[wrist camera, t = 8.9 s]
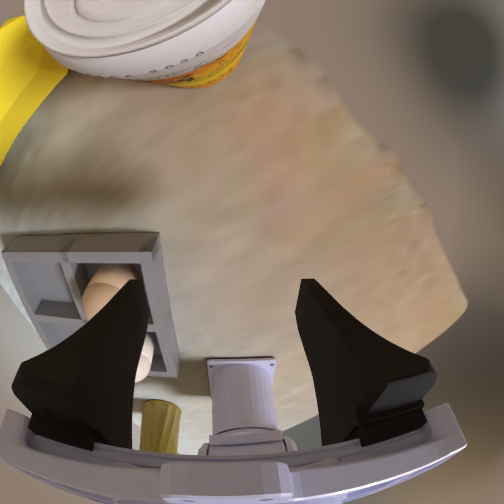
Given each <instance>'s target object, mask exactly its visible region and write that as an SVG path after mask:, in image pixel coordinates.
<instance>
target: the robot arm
mask: <svg viewBox="0 0 504 504" xmlns="http://www.w3.org/2000/svg"><path fill="white" fill-rule="evenodd" d="M149 314H150V312H149V308H148V304H147V300H146V295H145V291H144V286H143V281H142V279H130V280H129V281H128V282H127V283H126V284H125V285H124V286H123V287H122V288H121V289H120V290H119V291H118V292H117V293H116V294H115V295H114V296H113V297H112V298H111V300H110V301H109V302H108V303H107V304H106V305H105V306H104V307H103V308H102V309H101V310H100V311H99V312H98V313H97V314H95V315H94V316H93V317H92V318H91V319H90V320H89V321H88V322H87V323H86V324H85V325H83V326H82V327H81V328H80V329H78V330H77V331H76V332H75V333H73V334H72V335H70V336H69V337H68V338H66V339H65V340H63V341H62V342H60V343H59V344H57V345H56V346H54V347H52V348H51V349H49V350H47V351H45V352H44V353H42V354H40V355H38V356H36V357H33V358H31V359H29V360H27V361H24V362H22V363H21V365H20V367H19V369H18V372H17V374H16V376H15V379H14V381H13V383H12V390H13V392H14V394H15V395H16V397H17V398H18V399H19V400H20V401H21V402H22V403H23V404H24V405H25V406H26V408H27V409H28V410H29V411H30V412H31V413H32V416H31V419H30V418H28V417H27V416H25V415H23V414H20V413H18V412H15V411H13V410H10V409H7V410H6V413H5V416H4V419H3V422H2V425H1V428H0V459H2V460H4V461H5V462H6V463H8V464H10V465H11V466H13V467H14V468H16V469H18V470H19V471H21V472H23V473H25V474H26V475H28V476H31V477H33V478H35V479H37V480H39V481H42V482H44V483H46V484H49V485H51V486H54V487H56V488H59V489H61V490H64V491H66V492H69V493H72V494H75V495H78V496H80V497H84V498H87V499H90V500H93V501H97V502H100V503H104V504H342V503H344V502H348V501H351V500H355V499H358V498H361V497H364V496H367V495H370V494H373V493H375V492H378V491H381V490H384V489H386V488H389V487H392V486H394V485H396V484H399V483H401V482H404V481H406V480H408V479H411V478H413V477H415V476H417V475H419V474H421V473H424V472H426V471H428V470H430V469H432V468H433V467H436V466H438V465H439V464H441V463H442V462H444V461H446V460H447V459H449V458H450V457H452V456H453V455H455V454H456V453H458V452H459V451H460V450H462V449H463V448H465V447H466V446H467V443H466V440H465V438H464V436H463V433H462V431H461V429H460V427H459V425H458V423H457V420H456V418H455V416H454V414H453V412H452V410H451V408H450V406H449V404H448V403H445V404H443V405H440V406H438V407H435V408H433V409H431V410H429V411H427V412H425V413H424V412H423V410H422V408H423V407H424V402H423V400H422V398H423V397H424V396H425V395H426V394H427V393H428V391H429V390H430V389H431V388H432V387H433V385H434V384H435V382H436V379H437V374H436V372H435V370H434V368H433V367H432V365H431V363H430V361H429V360H428V359H427V358H425V357H422V356H419V355H417V354H414V353H412V352H409V351H407V350H405V349H403V348H401V347H399V346H397V345H395V344H393V343H391V342H389V341H388V340H386V339H384V338H383V337H381V336H379V335H378V334H376V333H375V332H373V331H372V330H370V329H369V328H368V327H366V326H365V325H364V324H362V323H361V322H360V321H358V320H357V319H356V318H355V317H354V316H352V315H351V314H350V313H349V312H348V311H347V310H346V309H344V308H343V307H342V306H341V305H340V304H339V303H338V302H337V301H336V300H335V299H334V298H333V297H332V296H331V295H330V294H329V293H328V292H327V291H326V290H325V289H324V288H323V287H322V286H321V285H320V284H319V283H318V282H317V281H316V280H315V279H301V284H300V289H299V295H298V300H297V305H296V310H295V314H296V320H297V326H298V331H299V334H300V337H301V341H302V344H303V347H304V350H305V353H306V356H307V359H308V362H309V366H310V369H311V373H312V376H313V381H314V387H315V392H316V398H317V405H318V411H319V418H320V428H321V439H322V446H321V447H315V448H309V449H303V450H297V447H296V444H295V442H294V441H293V440H291V439H290V438H289V437H284V438H283V436H282V430H279V427H278V421H277V415H276V408H275V402H274V396H273V389H272V382H273V378H274V373H275V368H276V362H277V361H276V358H253V359H209V360H208V361H207V368H208V377H209V385H210V392H211V399H212V427H213V435H210V436H209V443H204V444H203V445H202V447H201V448H200V449H199V451H198V455H181V454H167V453H157V452H148V451H140V450H133V449H132V409H133V395H134V386H135V378H136V372H137V368H138V364H139V360H140V356H141V352H142V349H143V345H144V341H145V337H146V334H147V328H148V321H149Z"/></svg>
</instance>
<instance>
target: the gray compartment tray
mask: <svg viewBox="0 0 504 504" xmlns="http://www.w3.org/2000/svg"><path fill="white" fill-rule="evenodd" d="M1 253H2V256H3V259H4V261H5V264H6V267H7V269H8V272H9V274H10V276H11V279H12V281H13V284H14V286H15V288H16V290H17V293H18V295H19V297H20V299H21V301H22V303H23V305H24V307H25V309H26V311H27V313H28V315H29V317H30V319H31V321H32V323H33V325H34V327H35V328H36V330H37V332H38V334H39V336H40V337H41V339H42V341H43V342H44V344H45V346H46V347H47V349H48V350H49V349H51V348H52V347H54V346H56V345H57V344H59V343H60V342H62V341H63V340H65V339H66V338H68V337H69V336H70V335H72V334H73V333H75V332H76V331H77V330H78V329H80V328H81V327H82V326H83V325H85V324H86V323H87V322H88V321H87V319H86V317H85V315H84V313H83V309H82V298H83V294H84V292H85V290H86V288H87V286H88V284H89V282H90V281H91V279H92V277H93V275H94V274H95V272H96V270H97V268H98V267H99V265H100V264H101V263H130V264H131V265H132V266H134V267H135V268H136V269H137V271H138V272H139V274H140V276H141V279H142V281H143V286H144V291H145V295H146V300H147V304H148V308H149V312H150V314H149V321H148V328H147V332H153V333H154V335H155V338H156V342H155V347H154V352H153V358H152V363H151V368H150V371H149V373H148V375H147V376H156V377H174V378H178V371H179V361H180V354H179V350H178V345H177V340H176V335H175V330H174V325H173V320H172V314H171V309H170V303H169V297H168V291H167V285H166V278H165V271H164V264H163V257H162V249H161V241H160V233H159V232H157V233H102V234H66V235H38V236H17V237H16V238H15V239H14V240H13V241H12V242H11V243H10V244H9V245H8V246H7V247H6V248H5V249H4V250H3V251H2V252H1Z"/></svg>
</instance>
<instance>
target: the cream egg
mask: <svg viewBox="0 0 504 504" xmlns="http://www.w3.org/2000/svg"><path fill="white" fill-rule="evenodd" d="M155 342H156V338H155V335H154V333H153V332H147V334H146V337H145V341H144V345H143V349H142V352H141V356H140V360H139V364H138V368H137V372H136V378H135V383H137V382H139V381H141V380H143V379H144V378H145V377H146V376H147V375H148V373H149V371H150V368H151V363H152V358H153V352H154V347H155Z"/></svg>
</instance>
